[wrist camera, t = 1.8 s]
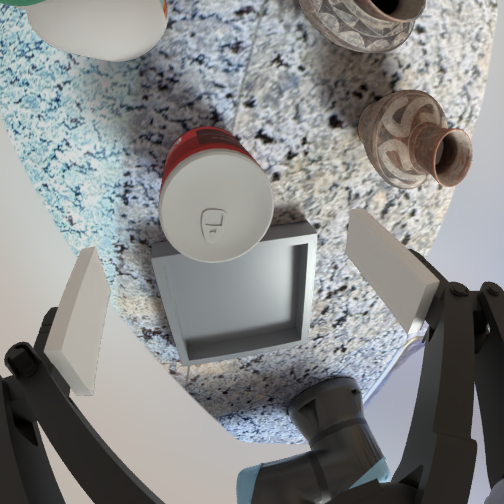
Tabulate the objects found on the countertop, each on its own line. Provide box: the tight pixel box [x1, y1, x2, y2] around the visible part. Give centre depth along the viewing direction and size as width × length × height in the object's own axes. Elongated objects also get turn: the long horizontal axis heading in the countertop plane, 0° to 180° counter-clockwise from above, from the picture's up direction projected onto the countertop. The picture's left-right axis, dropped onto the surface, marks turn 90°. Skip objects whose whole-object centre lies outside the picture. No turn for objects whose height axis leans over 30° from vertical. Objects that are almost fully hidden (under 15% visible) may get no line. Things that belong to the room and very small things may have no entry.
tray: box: [151, 221, 318, 366], centre depth 37 cm, size 17×17×3 cm
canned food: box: [158, 127, 274, 263], centre depth 24 cm, size 8×8×11 cm
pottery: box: [298, 0, 472, 189], centre depth 21 cm, size 11×25×12 cm, turn 26°
